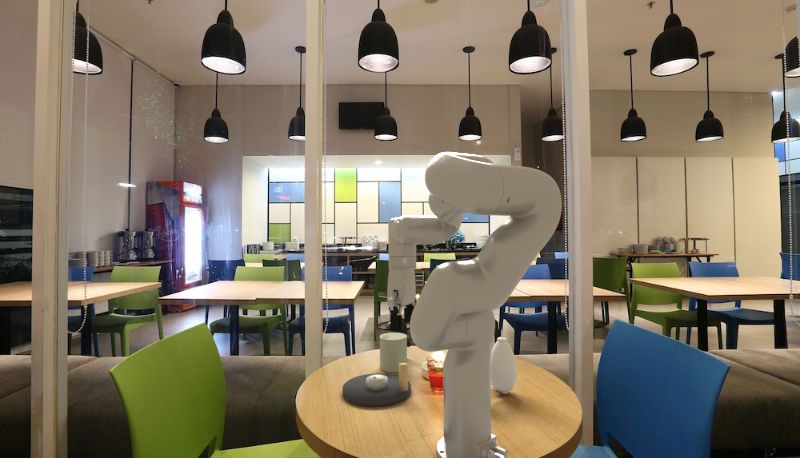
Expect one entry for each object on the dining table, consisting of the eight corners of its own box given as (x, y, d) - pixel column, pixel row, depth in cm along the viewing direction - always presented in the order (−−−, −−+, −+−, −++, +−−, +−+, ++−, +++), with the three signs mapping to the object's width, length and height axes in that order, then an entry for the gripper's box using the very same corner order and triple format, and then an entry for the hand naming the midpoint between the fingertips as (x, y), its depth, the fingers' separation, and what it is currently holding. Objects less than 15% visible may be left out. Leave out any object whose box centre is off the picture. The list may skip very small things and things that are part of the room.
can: (375, 368, 124) (375, 333, 124) (400, 364, 128) (400, 329, 128) (386, 378, 116) (385, 339, 116) (412, 373, 120) (412, 336, 120)
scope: (387, 316, 141) (412, 317, 138) (387, 353, 140) (413, 355, 138) (381, 321, 133) (408, 322, 130) (381, 360, 133) (408, 362, 130)
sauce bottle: (517, 400, 100) (516, 333, 100) (487, 396, 102) (486, 331, 102) (517, 389, 107) (516, 326, 107) (489, 385, 109) (489, 324, 110)
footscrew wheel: (396, 374, 115) (396, 347, 116) (422, 399, 98) (422, 366, 98) (335, 384, 108) (335, 354, 108) (352, 412, 91) (352, 377, 91)
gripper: (401, 260, 110) (402, 318, 110) (376, 265, 94) (376, 332, 94) (425, 261, 107) (426, 320, 107) (403, 265, 91) (404, 335, 91)
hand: (403, 326), depth 100 cm, fingers open, 9 cm apart
